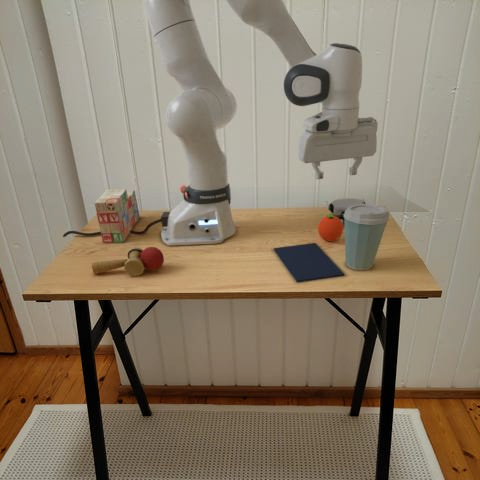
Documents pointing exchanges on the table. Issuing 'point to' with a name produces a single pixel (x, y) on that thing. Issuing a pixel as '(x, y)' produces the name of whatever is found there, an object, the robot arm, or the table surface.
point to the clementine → (330, 228)
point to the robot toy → (342, 206)
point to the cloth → (307, 262)
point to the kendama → (133, 261)
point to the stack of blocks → (116, 214)
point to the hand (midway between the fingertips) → (336, 176)
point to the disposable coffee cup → (363, 234)
